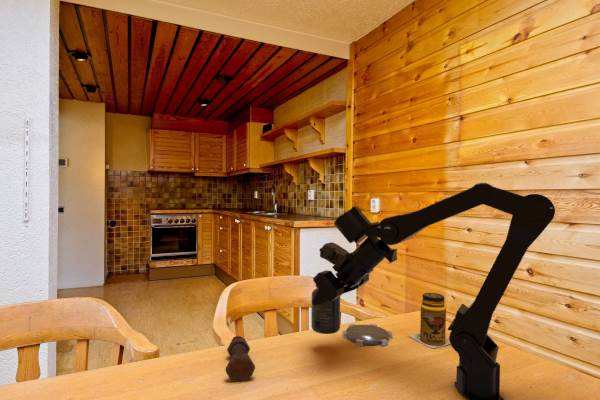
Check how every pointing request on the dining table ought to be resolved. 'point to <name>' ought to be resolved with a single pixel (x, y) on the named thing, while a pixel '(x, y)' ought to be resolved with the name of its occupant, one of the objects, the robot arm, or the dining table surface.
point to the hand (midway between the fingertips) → (320, 300)
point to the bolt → (239, 361)
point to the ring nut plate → (367, 335)
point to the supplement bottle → (325, 316)
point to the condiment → (432, 321)
